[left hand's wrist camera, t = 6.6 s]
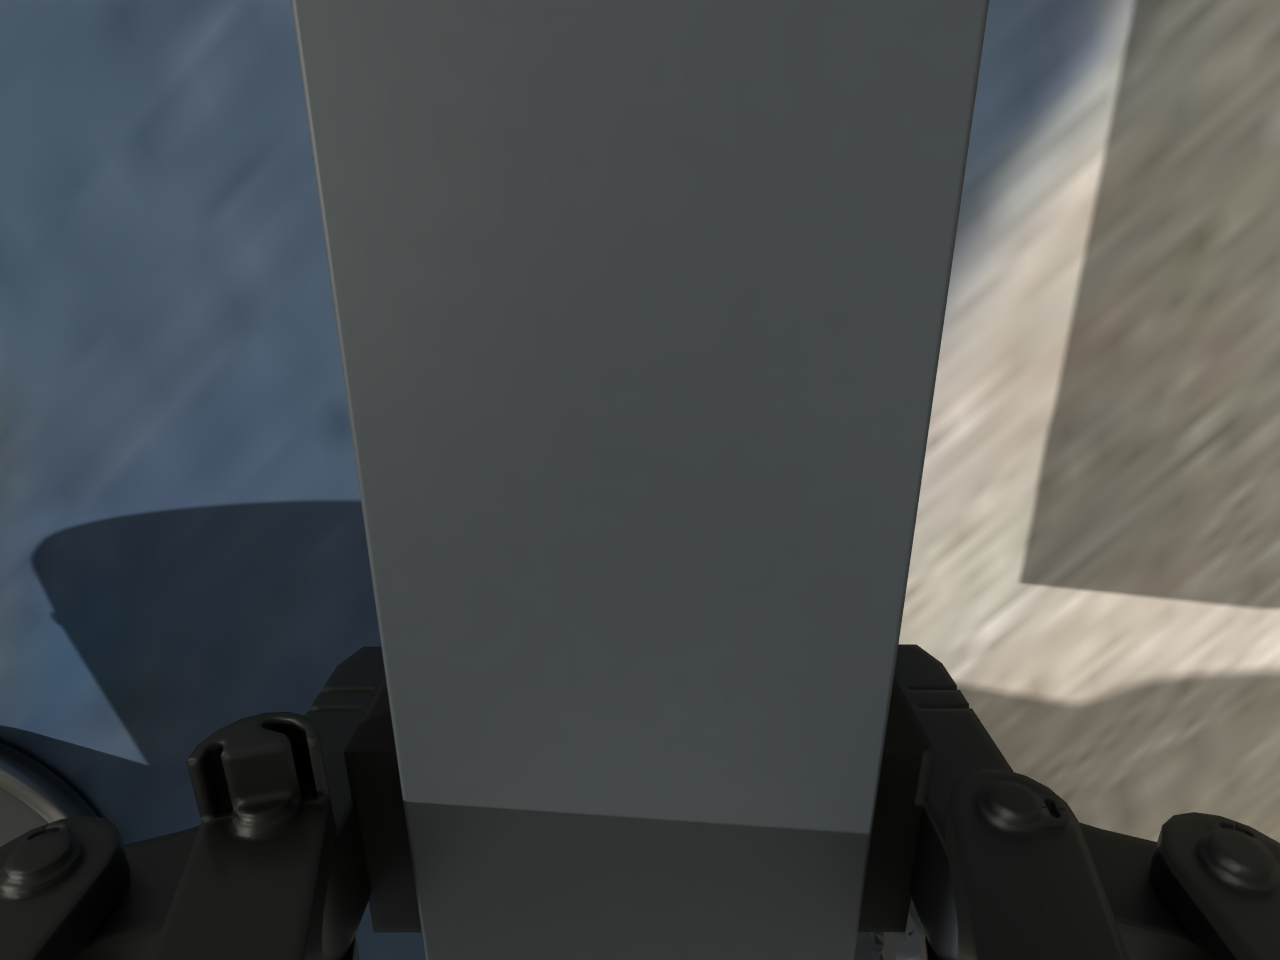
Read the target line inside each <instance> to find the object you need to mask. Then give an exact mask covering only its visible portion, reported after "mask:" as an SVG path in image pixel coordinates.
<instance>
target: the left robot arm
mask: <svg viewBox="0 0 1280 960" xmlns="http://www.w3.org/2000/svg"><path fill="white" fill-rule="evenodd" d="M186 763H187V766H188V770H189V774H190V778H191V782H192V786H193V790H194V793H195V797H196V801H197V805H198V809H199V813H200V816H201V820H202V823H201V825H200V826H197V827H194V828H191V829H188V830H184V831H181V832H177V833H173V834H169V835H165V836H161V837H156V838H152V839H148V840H144V841H140V842H135V843H131V844H127V845H123V844H122V841H121V837H120V834H119V831H118V828H117V827H115V826H114V825H113V824H112V823H111V822H110V821H109V820H107V819H105V818H99V817H98V816H97V815H96V814H95V812H94V811H93V810H92V809H91V807H90V806H89V805H88V804H87V803H86V802H85V800H84V799H83V798H82V797H81V796H80V795H79V794H78V793H77V792H76V791H75V790H74V789H73V788H71V787H70V786H69V785H68V784H67V783H66V782H64V781H63V780H62V779H61V778H60V777H58V776H57V775H56V774H54V773H53V772H52V771H50V770H49V769H48V768H46V767H45V766H43V765H41V764H40V763H38V762H37V761H35V760H34V759H32V758H30V757H28V756H27V755H25V754H23V753H21V752H19V751H18V750H16V749H13V748H11V747H9V746H7V745H5V744H3V743H1V742H0V960H359V954H358V947H357V942H356V936H355V934H356V931H357V929H358V926H359V924H360V921H361V918H362V916H363V913H364V911H365V908H366V906H367V903H368V900H369V905H370V911H371V917H372V923H373V929H374V932H422V931H421V924H420V917H419V909H418V902H417V895H416V888H415V881H414V874H413V867H412V860H411V853H410V845H409V838H408V831H407V824H406V817H405V810H404V803H403V796H402V789H401V781H400V774H399V767H398V760H397V753H396V746H395V739H394V732H393V725H392V717H391V710H390V703H389V696H388V689H387V682H386V675H385V668H384V661H383V653H382V647H363V648H361V649H360V650H358V651H357V652H356V653H354V654H353V655H352V656H350V657H349V658H348V659H346V660H345V661H344V662H342V663H341V664H340V665H338V666H337V668H336V669H335V671H334V672H333V674H332V675H331V677H330V678H329V680H328V681H327V683H326V685H325V686H324V688H323V692H320V694H319V695H318V697H317V698H316V700H315V701H314V703H313V704H312V706H311V711H308V712H307V714H306V715H305V716H303V715H299V714H295V713H291V712H274V713H264V714H260V715H256V716H252V717H248V718H244V719H241V720H238V721H236V722H234V723H232V724H230V725H228V726H225V727H223V728H221V729H219V730H217V731H216V732H215V733H213V734H212V735H211V736H209V737H208V738H207V739H205V740H204V741H203V742H201V743H200V744H199V745H198V746H197V747H196V748H195V750H194V751H193V753H192V754H191V755H190V757H189V758H188V759H187V761H186ZM911 898H912V901H913V903H914V906H915V908H916V911H917V914H918V916H919V919H920V921H921V924H922V926H923V929H924V931H925V936H924V942H923V947H922V953H921V958H920V960H1280V843H1278V842H1277V841H1275V840H1273V839H1271V838H1269V837H1268V836H1266V835H1264V834H1262V833H1260V832H1259V831H1257V830H1255V829H1253V828H1251V827H1249V826H1247V825H1244V824H1241V823H1238V822H1235V821H1233V820H1230V819H1227V818H1224V817H1221V816H1216V815H1209V814H1202V813H1195V812H1193V813H1186V814H1180V815H1174V816H1173V817H1171V818H1170V819H1169V820H1168V821H1167V822H1166V823H1165V824H1163V825H1162V829H1161V832H1160V835H1159V838H1158V842H1154V841H1149V840H1145V839H1141V838H1137V837H1132V836H1128V835H1124V834H1120V833H1115V832H1111V831H1107V830H1103V829H1099V828H1096V827H1092V826H1089V825H1086V824H1083V823H1080V822H1078V820H1077V818H1076V817H1075V815H1074V814H1073V812H1072V810H1071V809H1070V807H1069V806H1068V804H1067V803H1066V802H1065V801H1064V800H1062V799H1061V798H1060V797H1059V796H1058V795H1056V794H1055V793H1054V792H1053V791H1052V790H1051V789H1049V788H1048V787H1046V786H1044V785H1042V784H1040V783H1038V782H1037V781H1035V780H1033V779H1031V778H1029V777H1027V776H1024V775H1021V774H1017V773H1014V772H1013V770H1012V769H1011V767H1010V766H1009V764H1008V763H1007V761H1006V760H1005V758H1004V757H1003V755H1002V754H1001V752H1000V750H999V749H998V747H997V746H996V744H995V743H994V741H993V740H992V738H991V737H990V735H989V734H988V732H987V731H986V729H985V728H984V726H983V725H982V723H981V722H980V720H979V719H978V717H977V716H976V714H975V713H974V711H973V710H972V709H969V704H968V702H967V700H966V699H965V697H964V696H963V694H962V693H961V691H960V690H957V685H956V684H955V682H954V681H953V679H952V678H951V676H950V675H949V673H948V672H947V670H946V669H945V667H944V666H943V664H942V663H941V662H939V661H938V660H937V659H935V658H934V657H933V656H931V655H930V654H929V653H927V652H926V651H924V650H923V649H922V648H920V647H919V646H918V645H898V650H897V658H896V665H895V672H894V679H893V686H892V693H891V700H890V707H889V714H888V721H887V729H886V736H885V743H884V750H883V757H882V764H881V771H880V778H879V785H878V792H877V800H876V807H875V814H874V821H873V828H872V835H871V842H870V849H869V856H868V863H867V871H866V878H865V885H864V892H863V899H862V906H861V913H860V920H859V927H858V932H906V926H907V920H908V914H909V908H910V902H911Z"/></svg>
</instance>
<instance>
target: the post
mask: <svg viewBox="0 0 1280 960" xmlns="http://www.w3.org/2000/svg"><path fill="white" fill-rule="evenodd" d="M988 4H989V0H291V7H292V14H293V21H294V28H295V35H296V42H297V49H298V56H299V63H300V71H301V78H302V85H303V92H304V99H305V106H306V113H307V120H308V127H309V135H310V142H311V149H312V156H313V163H314V170H315V177H316V184H317V191H318V198H319V206H320V213H321V220H322V227H323V234H324V241H325V248H326V255H327V262H328V270H329V277H330V284H331V291H332V298H333V305H334V312H335V319H336V326H337V334H338V341H339V348H340V355H341V362H342V369H343V376H344V383H345V390H346V398H347V405H348V412H349V419H350V426H351V433H352V440H353V447H354V454H355V462H356V469H357V476H358V483H359V490H360V497H361V504H362V511H363V518H364V526H365V533H366V540H367V547H368V554H369V561H370V568H371V575H372V582H373V590H374V597H375V604H376V611H377V618H378V625H379V632H380V639H381V646H382V653H383V661H384V668H385V675H386V682H387V689H388V696H389V703H390V710H391V717H392V725H393V732H394V739H395V746H396V753H397V760H398V767H399V774H400V781H401V789H402V796H403V803H404V810H405V817H406V824H407V831H408V838H409V845H410V853H411V860H412V867H413V874H414V881H415V888H416V895H417V902H418V909H419V917H420V924H421V931H422V938H423V945H424V952H425V959H426V960H854V956H855V949H856V941H857V934H858V927H859V920H860V913H861V906H862V899H863V892H864V885H865V878H866V871H867V863H868V856H869V849H870V842H871V835H872V828H873V821H874V814H875V807H876V800H877V792H878V785H879V778H880V771H881V764H882V757H883V750H884V743H885V736H886V729H887V721H888V714H889V707H890V700H891V693H892V686H893V679H894V672H895V665H896V658H897V650H898V643H899V636H900V629H901V622H902V615H903V608H904V601H905V594H906V587H907V579H908V572H909V565H910V558H911V551H912V544H913V537H914V530H915V523H916V516H917V508H918V501H919V494H920V487H921V480H922V473H923V466H924V459H925V452H926V445H927V437H928V430H929V423H930V416H931V409H932V402H933V395H934V388H935V381H936V374H937V366H938V359H939V352H940V345H941V338H942V331H943V324H944V317H945V310H946V303H947V295H948V288H949V281H950V274H951V267H952V260H953V253H954V246H955V239H956V232H957V225H958V217H959V210H960V203H961V196H962V189H963V182H964V175H965V168H966V161H967V154H968V146H969V139H970V132H971V125H972V118H973V111H974V104H975V97H976V90H977V83H978V75H979V68H980V61H981V54H982V47H983V40H984V33H985V26H986V19H987V12H988Z"/></svg>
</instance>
